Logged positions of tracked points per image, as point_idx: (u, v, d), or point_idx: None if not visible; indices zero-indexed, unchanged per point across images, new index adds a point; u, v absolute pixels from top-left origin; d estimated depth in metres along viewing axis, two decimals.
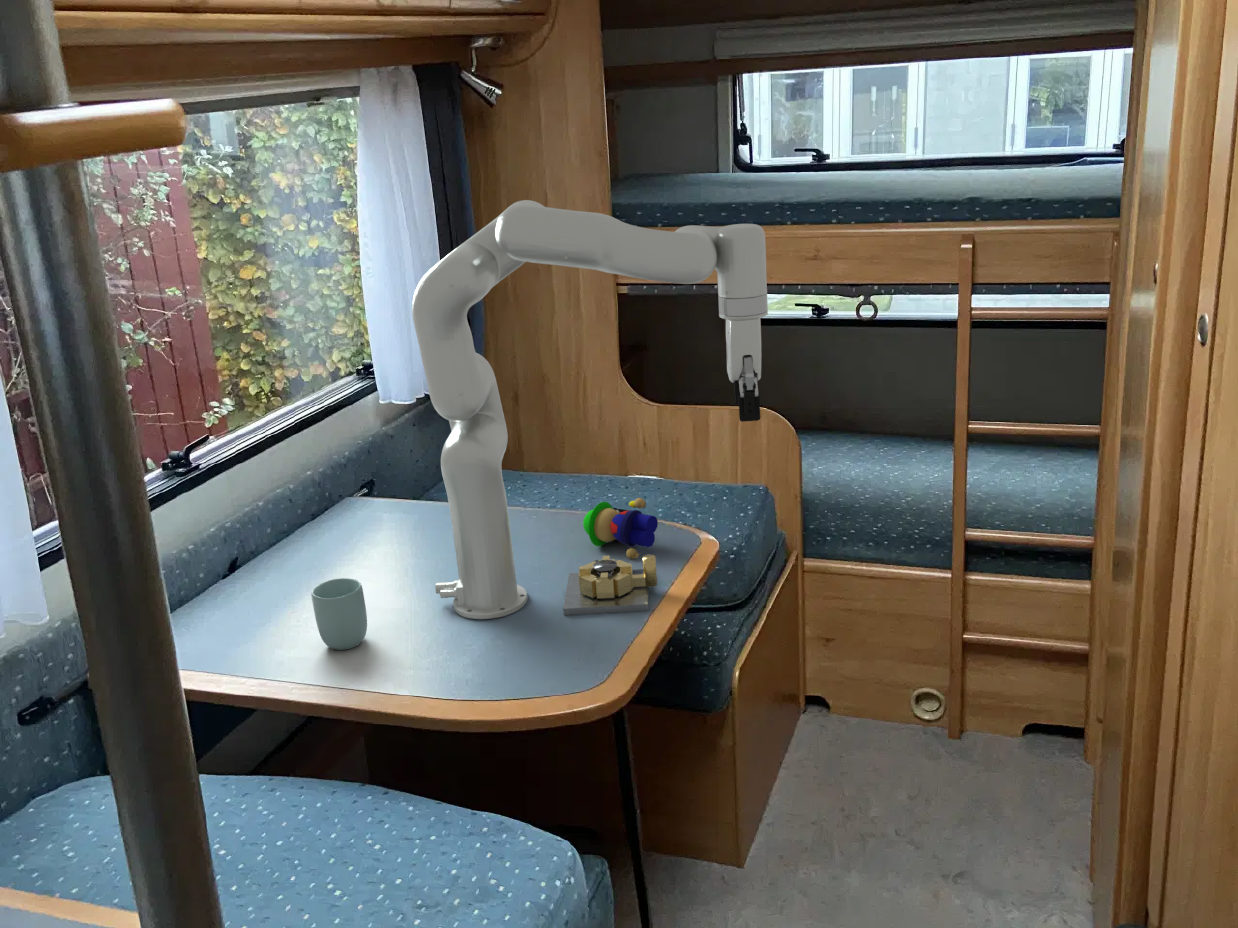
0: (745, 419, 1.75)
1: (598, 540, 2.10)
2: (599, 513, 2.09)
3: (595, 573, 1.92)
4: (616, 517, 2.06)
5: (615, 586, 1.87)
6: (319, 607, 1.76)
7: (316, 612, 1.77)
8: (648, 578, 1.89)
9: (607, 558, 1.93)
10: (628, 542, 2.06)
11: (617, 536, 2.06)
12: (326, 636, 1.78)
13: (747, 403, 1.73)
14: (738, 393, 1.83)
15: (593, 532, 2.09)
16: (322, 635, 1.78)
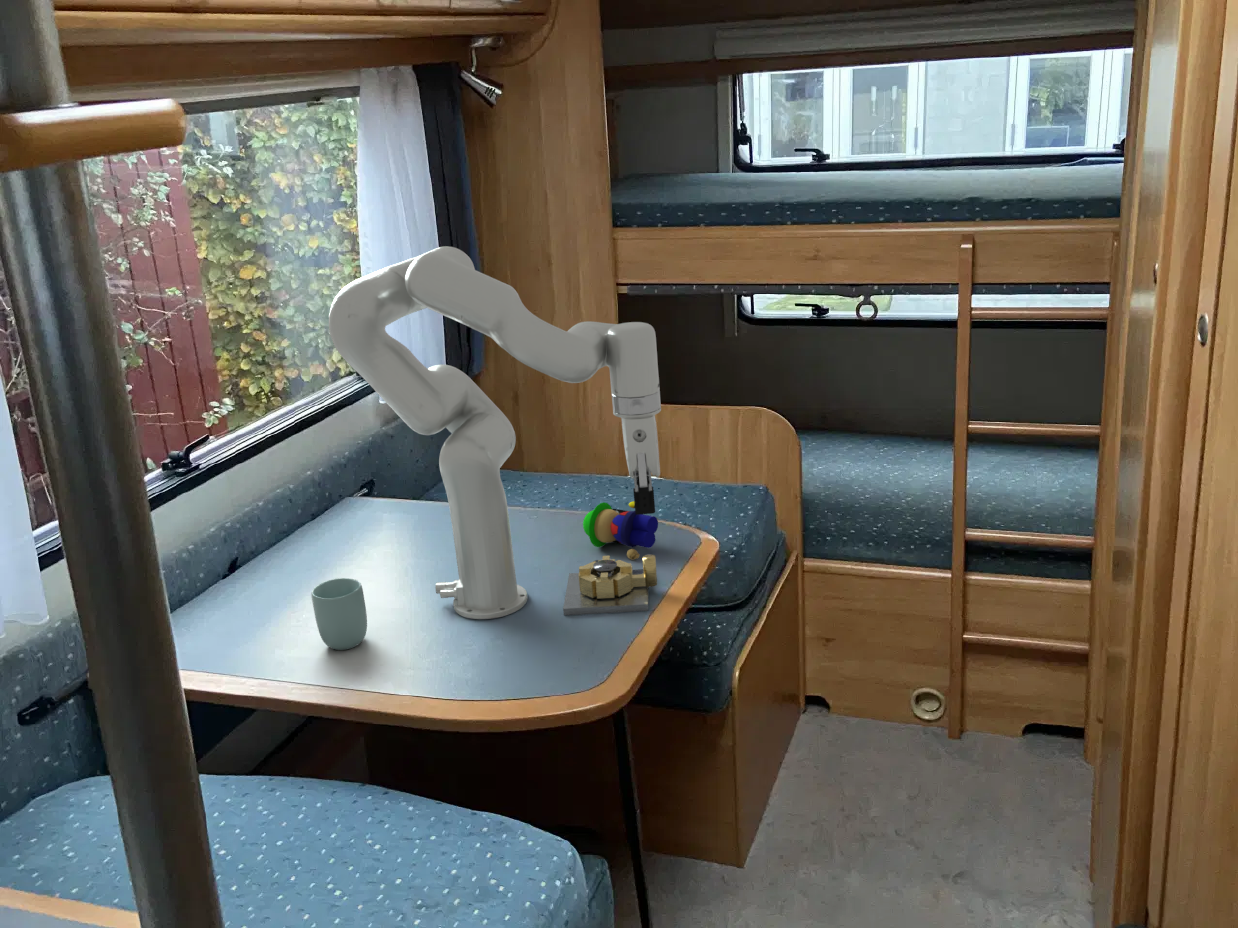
0: None
1: (598, 541, 2.10)
2: (599, 514, 2.08)
3: (595, 573, 1.92)
4: (616, 518, 2.06)
5: (615, 586, 1.87)
6: (319, 607, 1.76)
7: (316, 612, 1.77)
8: (648, 578, 1.89)
9: (607, 558, 1.93)
10: (629, 543, 2.05)
11: (617, 537, 2.05)
12: (326, 636, 1.78)
13: None
14: None
15: (593, 533, 2.08)
16: (322, 635, 1.78)
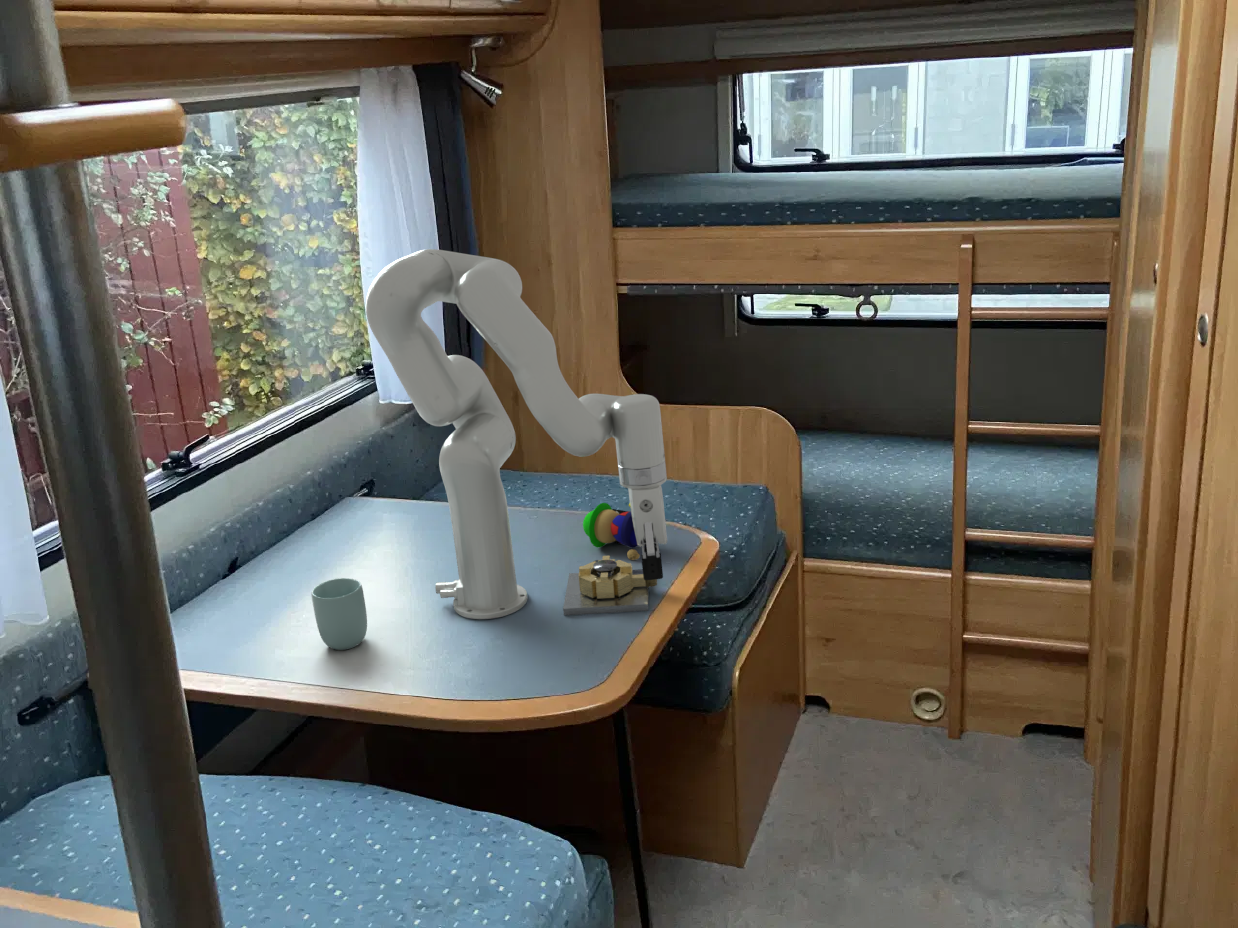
0: None
1: (598, 541, 2.10)
2: (599, 514, 2.08)
3: (595, 573, 1.92)
4: (616, 518, 2.06)
5: (615, 586, 1.87)
6: (319, 607, 1.76)
7: (316, 611, 1.77)
8: None
9: (607, 558, 1.93)
10: (629, 543, 2.05)
11: (618, 537, 2.05)
12: (326, 636, 1.78)
13: None
14: None
15: (593, 533, 2.08)
16: (322, 635, 1.78)
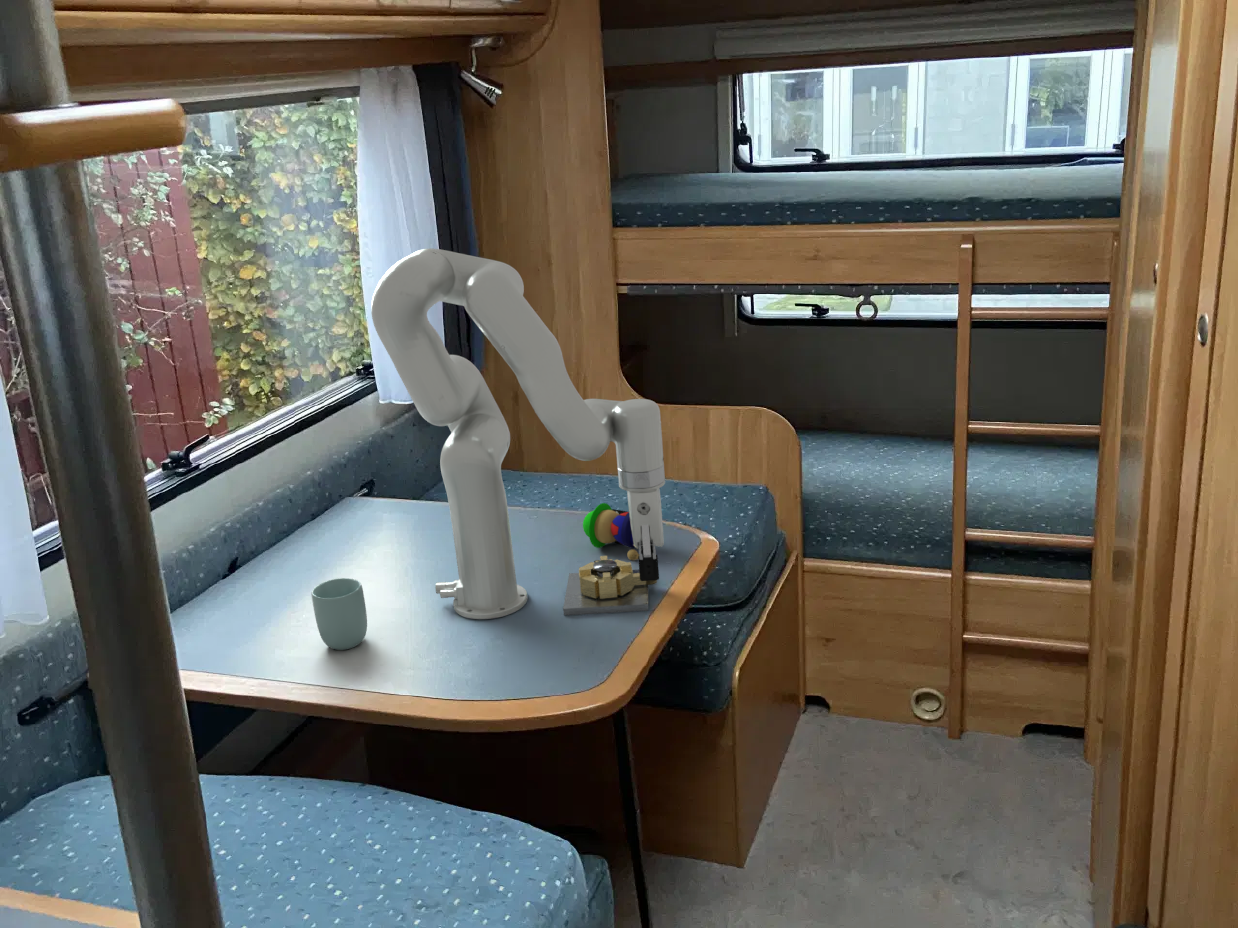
0: None
1: (598, 542, 2.10)
2: (599, 515, 2.08)
3: (594, 574, 1.92)
4: (617, 518, 2.06)
5: (617, 585, 1.87)
6: (319, 607, 1.76)
7: (316, 611, 1.77)
8: None
9: (605, 558, 1.93)
10: (629, 543, 2.05)
11: (618, 538, 2.05)
12: (326, 636, 1.78)
13: None
14: None
15: (593, 534, 2.08)
16: (322, 635, 1.78)
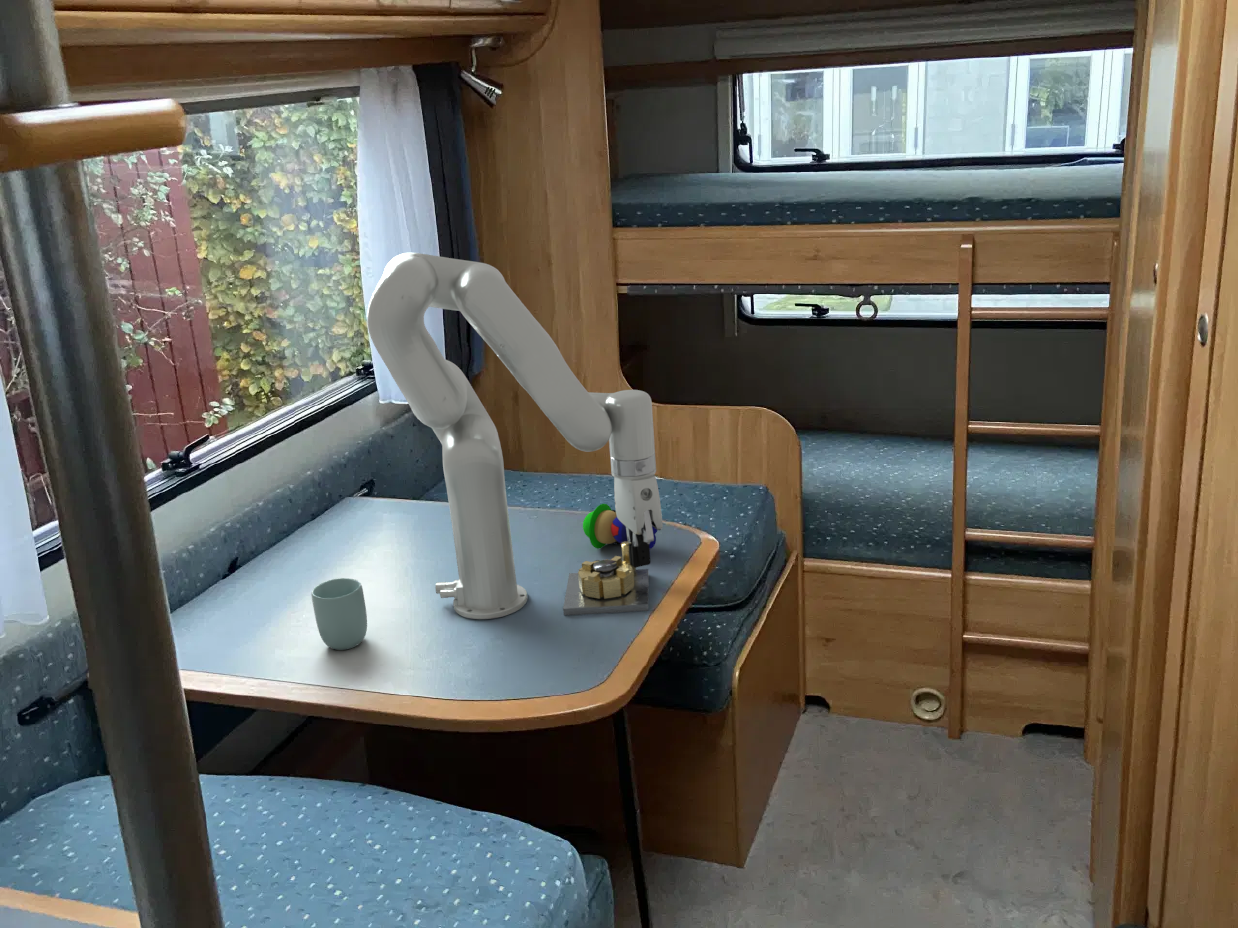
0: None
1: (598, 542, 2.09)
2: (599, 515, 2.08)
3: None
4: (617, 519, 2.05)
5: None
6: (319, 607, 1.76)
7: (316, 612, 1.77)
8: None
9: (590, 562, 1.92)
10: None
11: (618, 538, 2.05)
12: (326, 636, 1.78)
13: None
14: None
15: (593, 534, 2.07)
16: (322, 635, 1.78)
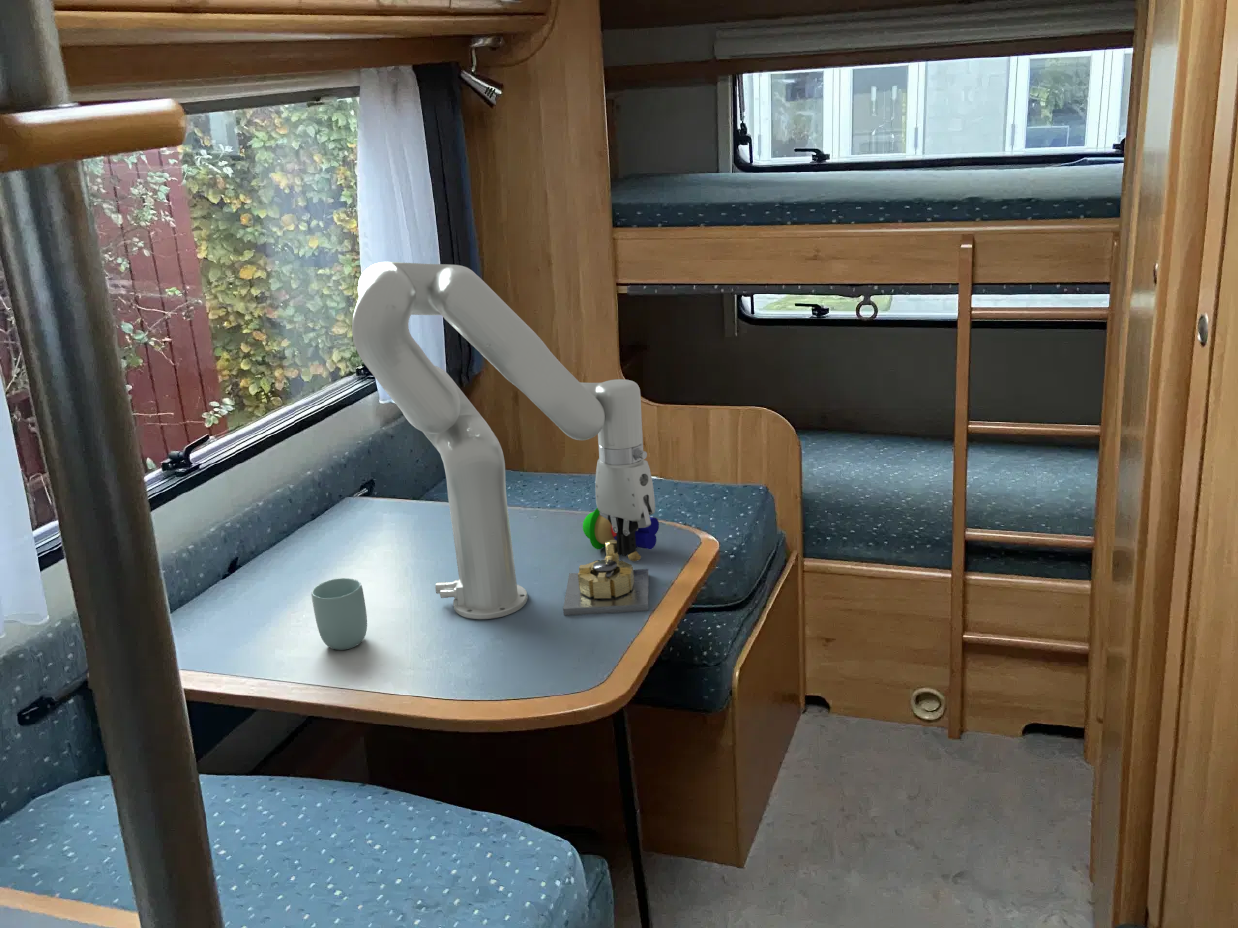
0: None
1: (598, 543, 2.09)
2: (599, 516, 2.07)
3: None
4: None
5: None
6: (319, 607, 1.76)
7: (316, 611, 1.77)
8: (618, 560, 1.97)
9: (586, 565, 1.91)
10: None
11: None
12: (326, 636, 1.78)
13: None
14: None
15: (593, 535, 2.07)
16: (322, 635, 1.78)
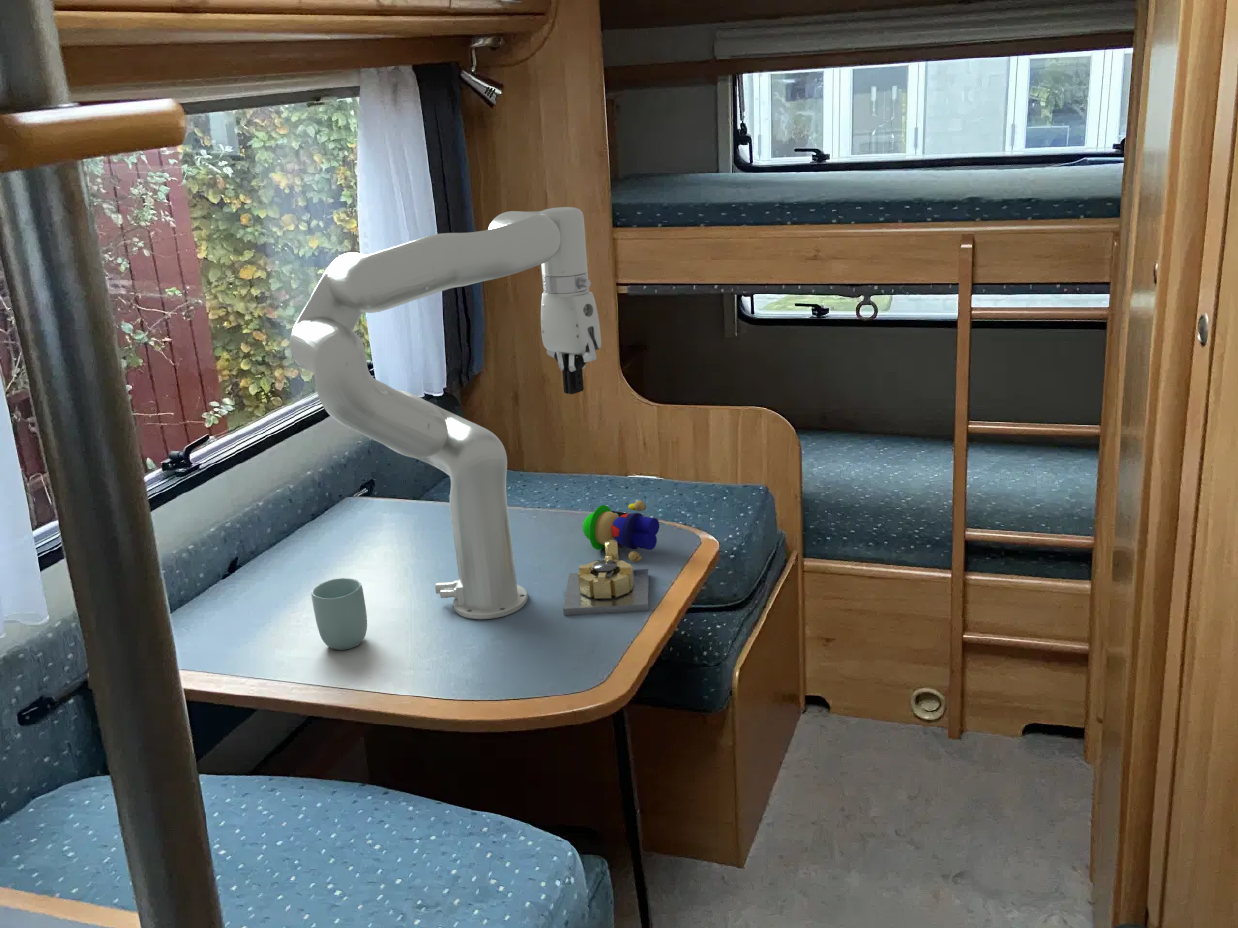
0: None
1: (598, 544, 2.09)
2: (599, 517, 2.07)
3: None
4: (617, 520, 2.05)
5: None
6: (319, 607, 1.76)
7: (316, 612, 1.77)
8: (618, 560, 1.97)
9: (586, 565, 1.91)
10: (630, 545, 2.04)
11: (619, 539, 2.04)
12: (326, 636, 1.78)
13: None
14: None
15: (594, 536, 2.07)
16: (322, 635, 1.78)
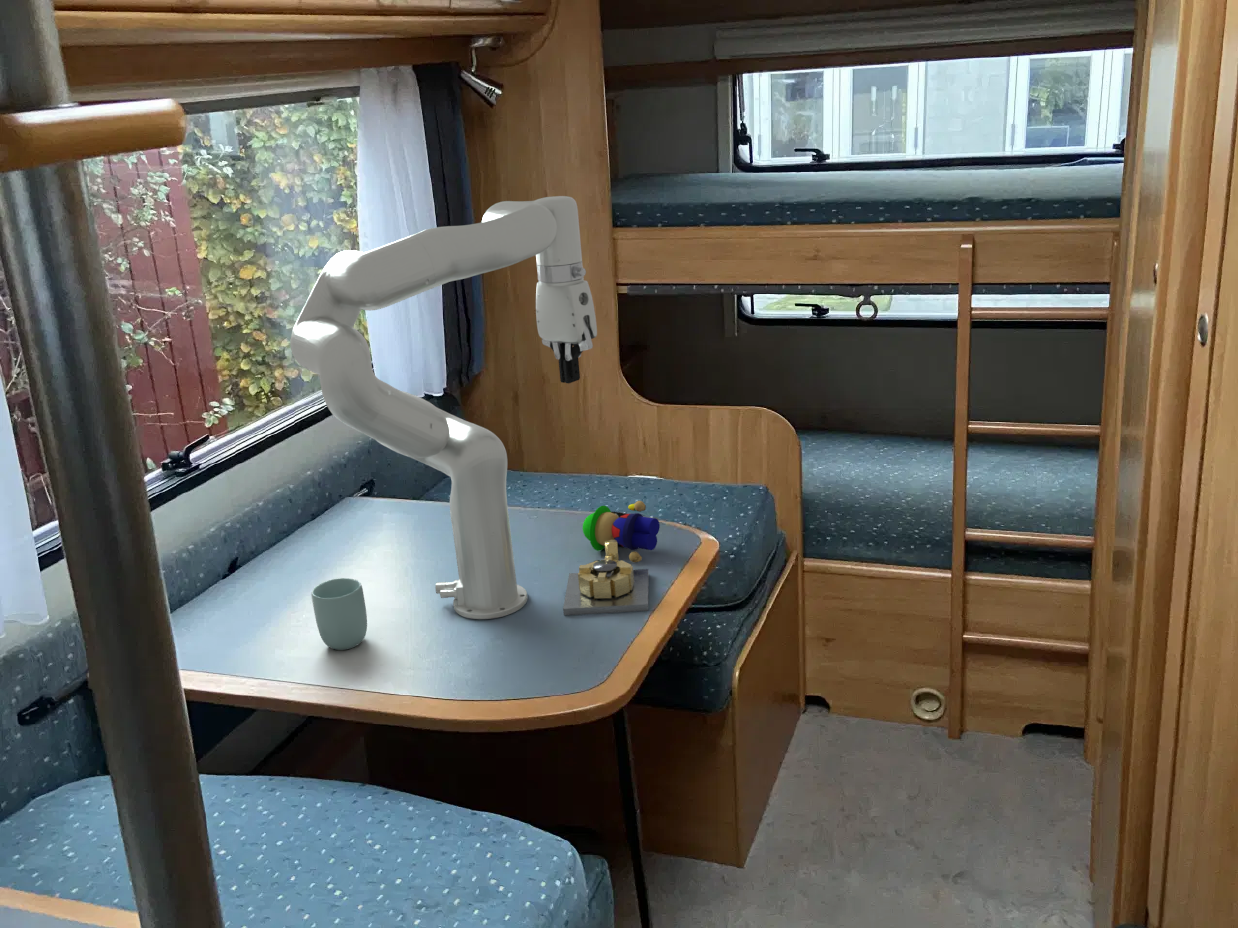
0: None
1: (598, 544, 2.08)
2: (599, 517, 2.07)
3: None
4: (617, 521, 2.04)
5: None
6: (319, 607, 1.76)
7: (316, 611, 1.77)
8: (618, 560, 1.97)
9: (586, 565, 1.91)
10: (630, 546, 2.04)
11: (619, 540, 2.04)
12: (326, 636, 1.78)
13: None
14: None
15: (594, 537, 2.06)
16: (322, 635, 1.78)
